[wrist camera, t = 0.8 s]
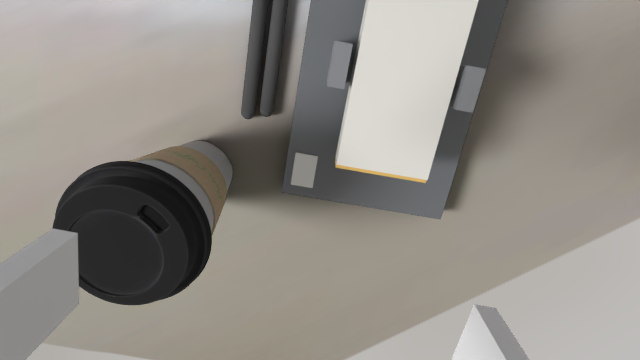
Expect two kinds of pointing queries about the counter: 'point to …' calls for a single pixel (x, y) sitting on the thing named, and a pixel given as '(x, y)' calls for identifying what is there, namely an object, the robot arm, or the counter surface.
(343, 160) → the plate
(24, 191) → the counter surface
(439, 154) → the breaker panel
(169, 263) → the coffee cup
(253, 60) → the cords
